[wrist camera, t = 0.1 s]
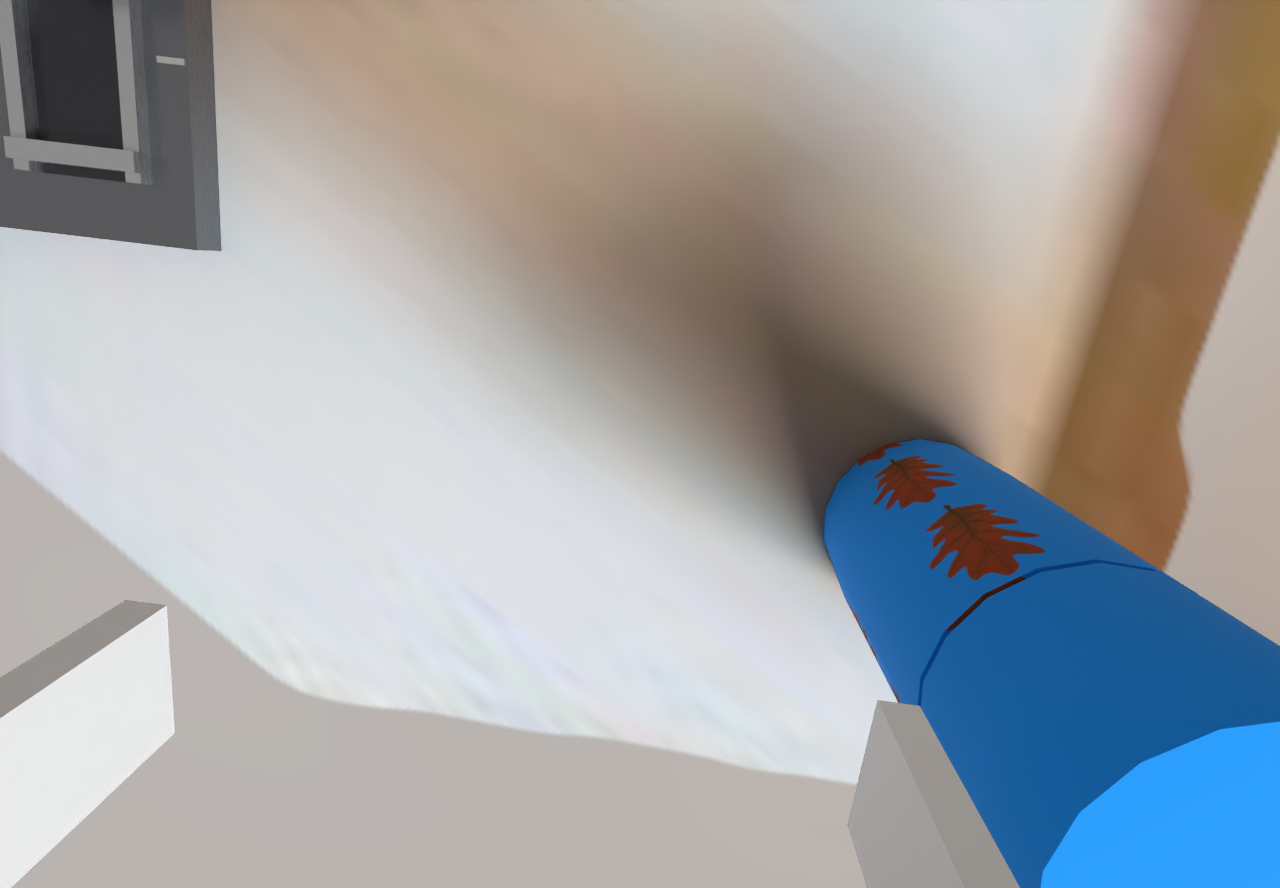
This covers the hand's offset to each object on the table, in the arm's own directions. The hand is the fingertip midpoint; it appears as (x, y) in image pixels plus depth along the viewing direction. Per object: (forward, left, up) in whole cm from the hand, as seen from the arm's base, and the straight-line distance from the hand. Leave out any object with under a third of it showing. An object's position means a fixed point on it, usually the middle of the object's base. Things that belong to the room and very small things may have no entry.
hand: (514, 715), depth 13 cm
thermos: (+5, +18, -28) cm, 34 cm away
